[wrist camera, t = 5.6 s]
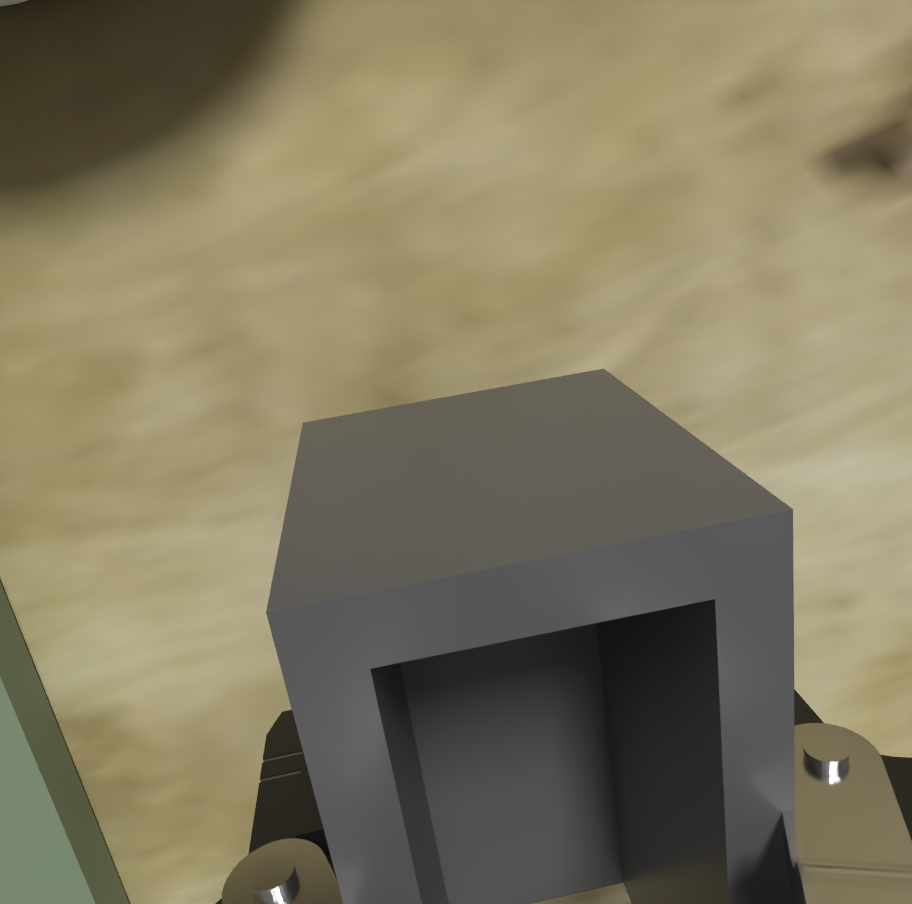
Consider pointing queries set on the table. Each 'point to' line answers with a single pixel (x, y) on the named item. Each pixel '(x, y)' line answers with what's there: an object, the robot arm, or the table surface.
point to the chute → (538, 651)
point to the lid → (10, 2)
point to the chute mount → (43, 796)
